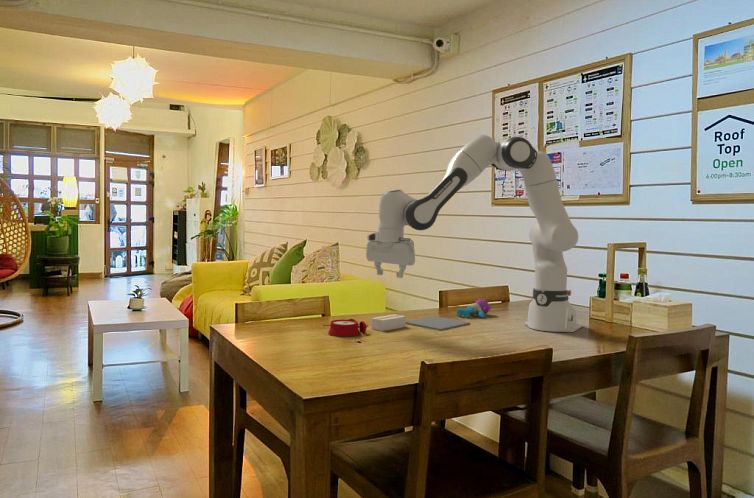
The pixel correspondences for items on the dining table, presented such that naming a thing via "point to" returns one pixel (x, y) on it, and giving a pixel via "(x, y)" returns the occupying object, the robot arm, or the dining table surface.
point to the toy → (475, 309)
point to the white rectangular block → (388, 322)
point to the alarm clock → (346, 327)
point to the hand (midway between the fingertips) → (389, 276)
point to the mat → (437, 323)
